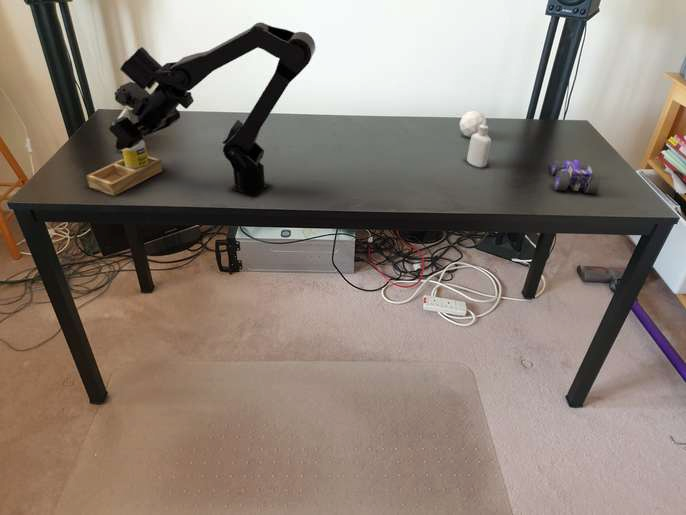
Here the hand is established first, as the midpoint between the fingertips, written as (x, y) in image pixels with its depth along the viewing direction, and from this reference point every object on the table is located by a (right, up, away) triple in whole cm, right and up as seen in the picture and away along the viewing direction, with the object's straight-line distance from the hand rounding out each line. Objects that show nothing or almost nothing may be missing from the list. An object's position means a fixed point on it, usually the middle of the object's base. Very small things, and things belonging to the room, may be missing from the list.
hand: (130, 141), depth 126 cm
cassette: (-9, +4, +19) cm, 21 cm away
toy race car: (+110, -8, +11) cm, 111 cm away
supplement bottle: (0, -6, +4) cm, 8 cm away
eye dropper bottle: (+87, -2, +17) cm, 89 cm away
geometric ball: (+90, +9, +33) cm, 96 cm away
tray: (-2, -9, +2) cm, 9 cm away
